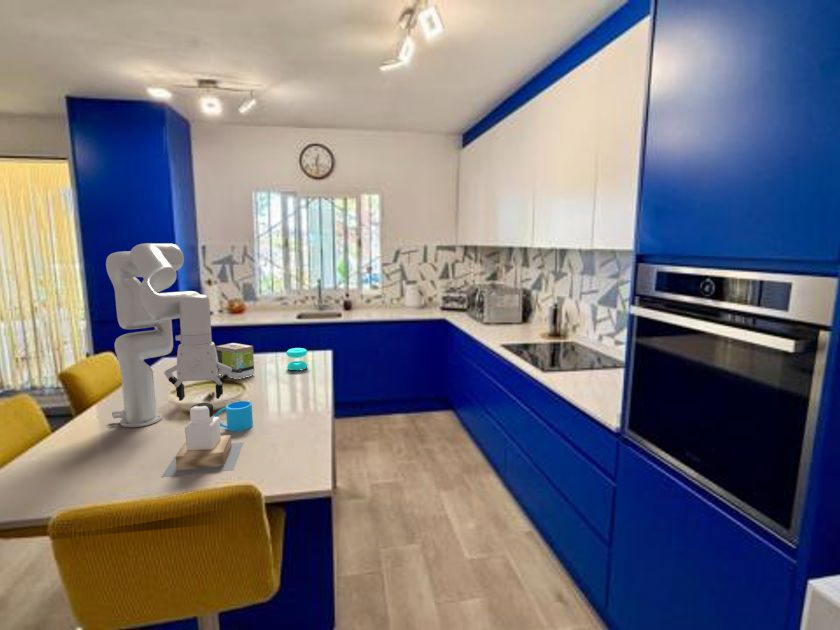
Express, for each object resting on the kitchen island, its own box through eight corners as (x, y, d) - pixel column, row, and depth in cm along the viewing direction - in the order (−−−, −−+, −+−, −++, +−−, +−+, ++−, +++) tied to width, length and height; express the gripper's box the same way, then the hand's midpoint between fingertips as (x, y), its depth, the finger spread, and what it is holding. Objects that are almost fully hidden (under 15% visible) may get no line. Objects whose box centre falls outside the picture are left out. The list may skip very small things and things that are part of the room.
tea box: (255, 375, 216) (253, 345, 214) (237, 381, 208) (235, 349, 206) (235, 371, 224) (233, 341, 222) (217, 375, 216) (215, 345, 214)
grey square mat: (161, 479, 120) (161, 477, 120) (180, 449, 137) (180, 447, 137) (233, 471, 124) (233, 469, 124) (243, 444, 141) (243, 442, 141)
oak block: (176, 470, 123) (175, 456, 123) (188, 451, 135) (187, 438, 134) (223, 465, 126) (223, 452, 125) (231, 447, 138) (230, 434, 137)
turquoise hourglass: (289, 347, 232) (309, 347, 231) (290, 366, 233) (309, 366, 233) (283, 351, 222) (304, 352, 222) (284, 371, 223) (304, 371, 223)
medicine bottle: (196, 440, 133) (193, 401, 131) (221, 439, 134) (218, 400, 132) (186, 451, 126) (183, 409, 124) (213, 449, 127) (210, 408, 125)
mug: (255, 422, 159) (253, 400, 157) (250, 432, 151) (249, 408, 149) (219, 424, 157) (217, 402, 156) (212, 434, 149) (210, 410, 148)
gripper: (157, 343, 120) (162, 404, 123) (227, 341, 124) (230, 400, 126) (166, 337, 127) (171, 395, 130) (232, 335, 131) (235, 392, 134)
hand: (200, 398), depth 128 cm, fingers open, 9 cm apart
